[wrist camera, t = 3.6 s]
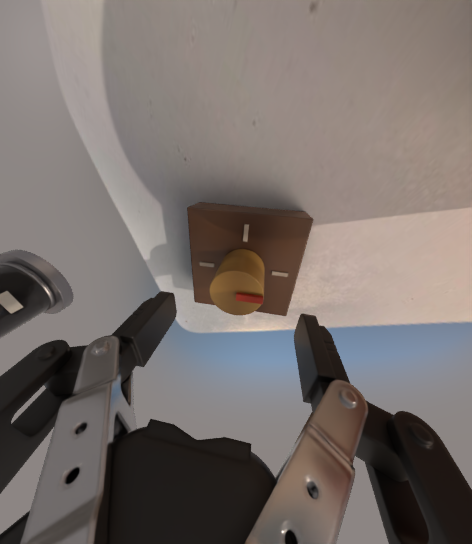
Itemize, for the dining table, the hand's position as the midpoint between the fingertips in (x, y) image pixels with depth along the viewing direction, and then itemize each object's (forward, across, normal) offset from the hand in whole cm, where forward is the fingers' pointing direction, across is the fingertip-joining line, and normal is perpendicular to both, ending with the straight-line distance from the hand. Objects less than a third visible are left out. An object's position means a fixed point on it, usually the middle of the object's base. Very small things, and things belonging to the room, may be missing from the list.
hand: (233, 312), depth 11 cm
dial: (+6, 0, 0) cm, 6 cm away
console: (+9, 0, 0) cm, 9 cm away
